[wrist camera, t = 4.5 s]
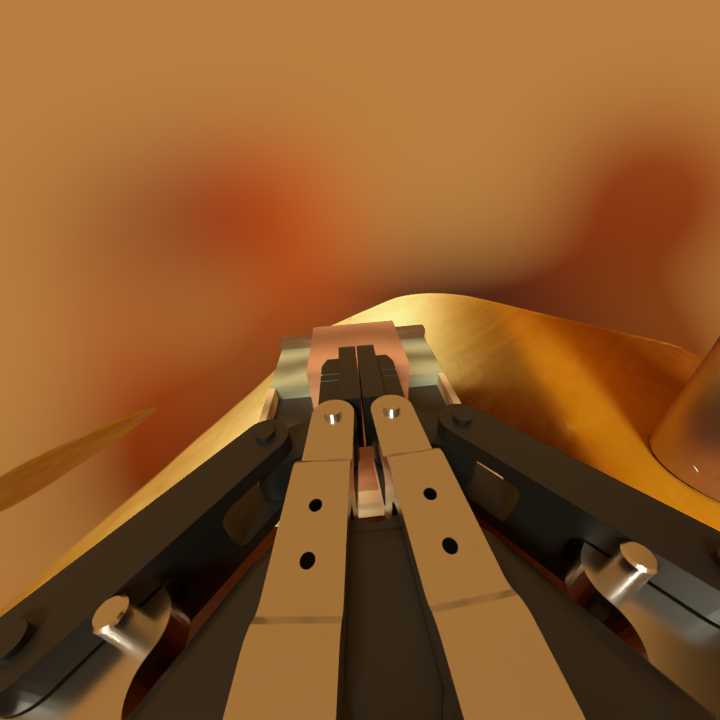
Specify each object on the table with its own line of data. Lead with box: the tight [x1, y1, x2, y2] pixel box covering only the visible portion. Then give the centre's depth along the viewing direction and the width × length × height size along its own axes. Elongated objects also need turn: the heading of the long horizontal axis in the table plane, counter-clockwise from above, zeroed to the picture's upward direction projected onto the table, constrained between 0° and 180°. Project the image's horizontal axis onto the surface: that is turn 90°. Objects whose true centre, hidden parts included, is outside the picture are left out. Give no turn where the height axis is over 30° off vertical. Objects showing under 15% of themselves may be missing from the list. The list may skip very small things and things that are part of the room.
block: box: [306, 321, 409, 492], centre depth 22 cm, size 6×6×12 cm
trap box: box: [258, 325, 503, 527], centre depth 33 cm, size 27×22×4 cm
